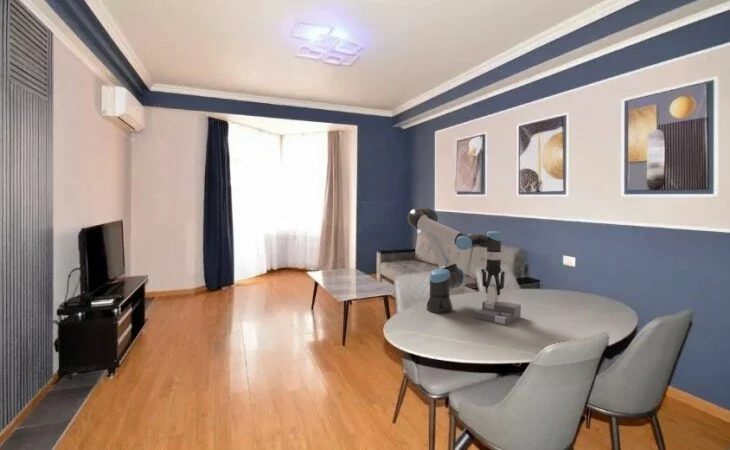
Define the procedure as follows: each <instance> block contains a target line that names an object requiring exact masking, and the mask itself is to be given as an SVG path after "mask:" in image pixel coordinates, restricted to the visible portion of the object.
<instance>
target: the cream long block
mask: <svg viewBox="0 0 730 450" xmlns="http://www.w3.org/2000/svg"><path fill="white" fill-rule="evenodd" d="M496 289H497V287H496V283H490V286H488V302H489V303H494V304H496V303H498V301H499V300H498V301H495V290H496Z"/></svg>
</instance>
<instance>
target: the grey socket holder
mask: <svg viewBox="0 0 730 450" xmlns="http://www.w3.org/2000/svg"><path fill="white" fill-rule="evenodd" d="M521 309H522V304H518V303H513V302H507V301H503V300H498V303H496V304H494V303H489V302H488V300H487V299H486V300H484V301H482V307H481V308H480V309H478V310H476V311H474V319H478V320H483V321H485V320H486V321H487V322H490V323H495V324H498V325H499V324H500V325H503V326H510V324H512V323H514V322H515V321H517V320H518V319H520V318H521V316H522V315H521ZM486 321H485V322H486Z"/></svg>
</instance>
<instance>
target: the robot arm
mask: <svg viewBox="0 0 730 450" xmlns="http://www.w3.org/2000/svg"><path fill="white" fill-rule="evenodd" d="M438 219H439V214H438V212H437V211H436V209H435V210H434V209H433V208H429V207H424V208H421V207H419V208H418V207H417V208H413V209H411V210H410V211H409V212H408V214H407V222H408V224H409V225H410V226H412V227H413V228H415V229H417V230H419V231H421V232H422V233H424V234H425V236H426V239H427V241H428V243H429V246H430V248H431V250H432V252H433V255H434V258H435V260H436V261H437V264H438V266H439V268H435V269H433V270H431V271H430V273H429V278H428V279H429V297H428V300H427V303H426V310H427V311H428V310H429V311H428V312H430V311H431V313H434V312H436V313H435V314H447V312H449V313H451V312H453V304H452V300H451V296H450V295H451V294H450V293H451V290H453V289H457V288H459V287H461V286H462V285H463V284H464V282H465V280H466V275H465V272H464V271H463V269H462V268H460V267H458V265H457V263H456V262H453V260H452V258H451V256H450V253H449V251H448V249H447V246H446V244H445V242H444V240H445V241H447V242H449V243H451V244H453V245H456V247H457V249H459V250H462V251H467V250H471V249H475V248H484V249H486V267H485V268H482V269H481V273H482V274H481V275H482V287H485V293H486V300H488V286H490V285H491V281H492V277H494V283H495V284H496V285H495V286H496V287H497V289H496V290H495V301H499V300H500V299H499V296H500V295H501V290H502V289H504V288H505V276H506V274H507V272H506V271H505V270H504V271H503V270H502V267H501V266H502V264H501V261H502V233H501V232H500V231H492V230H491V231H487V233H486V234H482V233H468V234H465V233H463V232H461V231H459V230H456V229H454V228H451V227H450V226H446V225H444V224H442V223H440V222H438V221H439V220H438ZM499 277H500V278H499Z"/></svg>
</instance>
